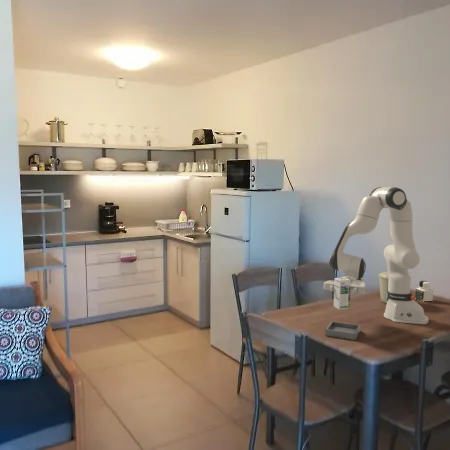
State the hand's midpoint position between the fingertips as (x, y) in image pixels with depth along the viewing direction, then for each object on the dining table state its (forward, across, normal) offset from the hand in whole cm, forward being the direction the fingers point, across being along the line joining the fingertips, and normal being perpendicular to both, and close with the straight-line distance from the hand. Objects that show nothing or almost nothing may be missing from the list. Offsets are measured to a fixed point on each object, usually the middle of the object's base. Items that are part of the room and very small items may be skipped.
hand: (341, 290), depth 223 cm
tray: (0, +1, +21) cm, 21 cm away
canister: (-69, +18, +21) cm, 74 cm away
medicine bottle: (-83, +34, +22) cm, 92 cm away
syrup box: (-1, 0, +9) cm, 9 cm away
